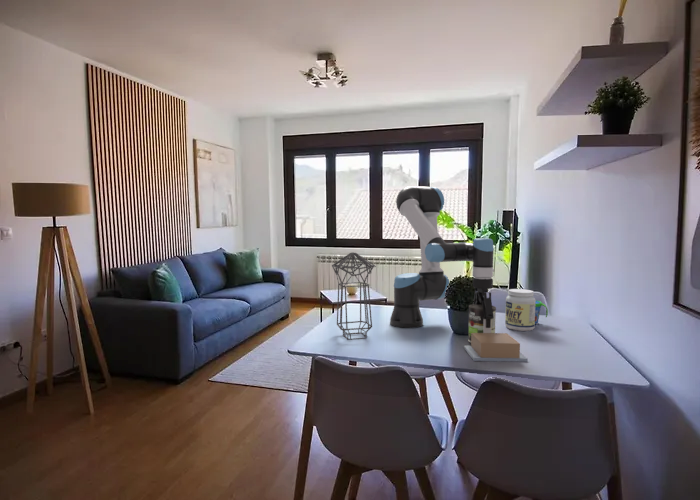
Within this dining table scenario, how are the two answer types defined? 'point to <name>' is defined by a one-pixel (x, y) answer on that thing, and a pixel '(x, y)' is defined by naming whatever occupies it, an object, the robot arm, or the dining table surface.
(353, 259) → the geometric lantern
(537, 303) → the snack cup
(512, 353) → the tower base
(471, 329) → the coffee can
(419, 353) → the dining table surface
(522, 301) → the supplement tub
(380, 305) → the dining table surface
